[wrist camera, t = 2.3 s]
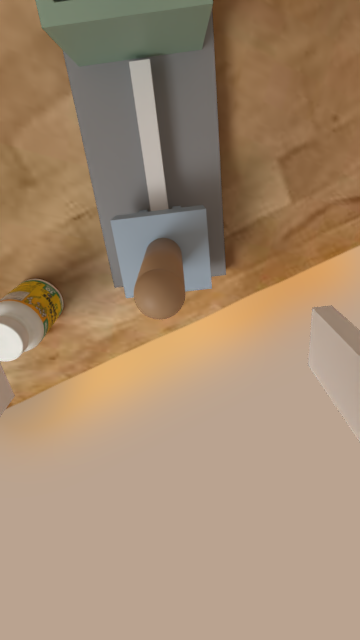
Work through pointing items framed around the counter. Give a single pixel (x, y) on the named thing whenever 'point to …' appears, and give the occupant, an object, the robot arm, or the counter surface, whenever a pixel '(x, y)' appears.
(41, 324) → the supplement bottle
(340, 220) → the counter surface
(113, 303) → the counter surface
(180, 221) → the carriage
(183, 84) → the track
